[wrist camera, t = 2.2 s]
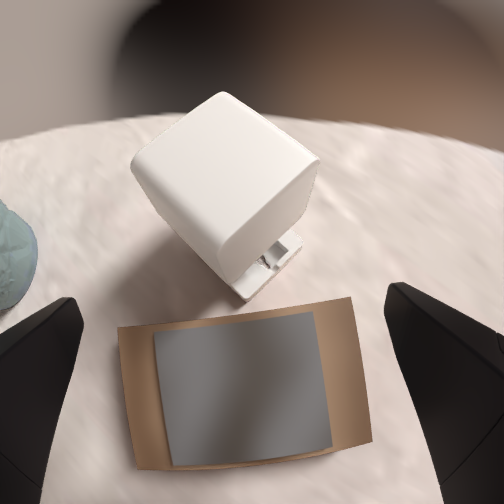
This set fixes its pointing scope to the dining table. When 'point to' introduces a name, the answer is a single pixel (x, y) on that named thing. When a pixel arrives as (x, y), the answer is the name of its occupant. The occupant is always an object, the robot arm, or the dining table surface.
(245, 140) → the security camera
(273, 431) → the walnut stand
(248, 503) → the dining table surface
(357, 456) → the dining table surface
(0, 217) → the green plant pot
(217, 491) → the dining table surface
